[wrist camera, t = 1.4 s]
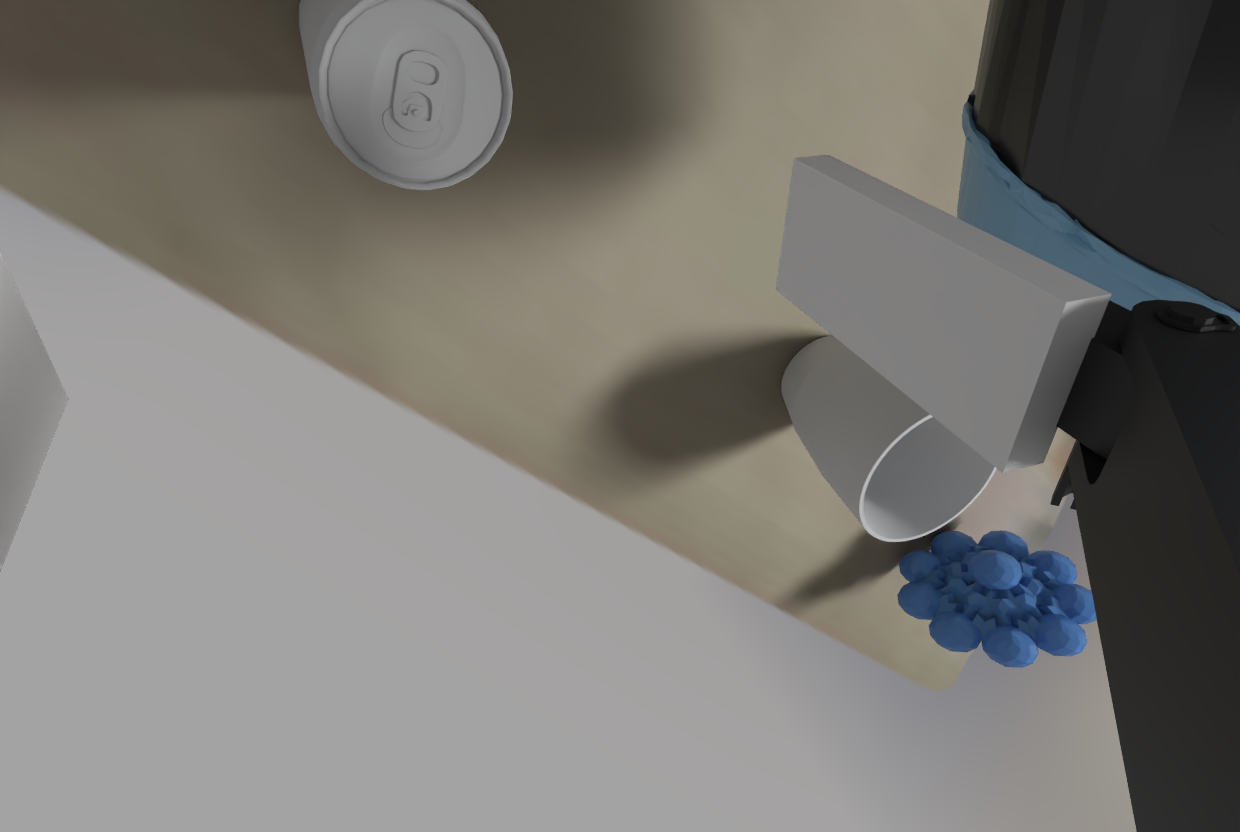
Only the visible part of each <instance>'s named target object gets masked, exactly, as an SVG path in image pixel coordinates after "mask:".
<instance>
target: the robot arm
mask: <svg viewBox="0 0 1240 832" xmlns="http://www.w3.org/2000/svg"><path fill="white" fill-rule="evenodd" d="M962 127H963V130H964V133H965V136H966V142H965V150H964V159H963V167H962V175H961V183H960V191H959V199H958V207H957V218H956V217H954V216H952V215H950V214H948V213H946V212H944V211H942V210H940V209H938V208H936V207H934V206H932V205H929V204H927V203H925V202H923V201H921V200H919V199H917V198H915V197H913V196H911V195H909V194H907V193H905V192H903V191H901V190H899V189H897V188H895V187H893V186H891V185H889V184H887V183H885V182H883V181H881V180H879V179H877V178H874V177H872V176H870V175H868V174H866V173H864V172H862V171H860V170H858V169H856V168H854V167H852V166H850V165H848V164H846V163H844V162H842V161H840V160H838V159H836V158H834V157H832V156H830V155H821V156H811V157H801V158H794V162H793V169H792V176H791V184H790V191H789V198H788V205H787V213H786V220H785V227H784V234H783V241H782V249H781V256H780V263H779V270H778V278H777V285H776V290H777V291H778V292H780V293H781V294H782V295H783V296H785V297H786V298H787V299H788V300H789V301H791V302H792V303H793V304H794V305H796V306H797V307H798V308H799V309H801V310H802V311H803V312H804V313H806V314H807V315H808V316H809V317H810V318H812V319H813V320H814V321H815V322H817V323H818V324H819V325H820V326H822V327H823V328H824V329H825V330H827V331H828V332H829V333H830V334H831V335H833V336H834V337H835V338H836V339H838V340H839V341H840V342H841V343H843V344H844V345H845V346H846V347H848V348H849V349H850V350H851V351H852V352H854V353H855V354H856V355H857V356H859V357H860V358H861V359H862V360H864V361H865V362H866V363H867V364H869V365H870V366H871V367H872V368H873V369H875V370H876V371H877V372H878V373H880V374H881V375H882V376H883V377H885V378H886V379H887V380H888V381H890V382H891V383H892V384H893V385H894V386H896V387H897V388H898V389H899V390H901V391H902V392H903V393H904V394H906V395H907V396H908V397H909V398H911V399H912V400H913V401H914V402H915V403H917V404H918V405H919V406H920V407H922V408H923V409H924V410H925V411H927V412H928V413H929V414H930V415H932V416H933V417H934V418H935V419H936V420H938V421H939V422H940V423H941V424H943V425H944V426H945V427H946V428H948V429H949V430H950V431H951V432H953V433H954V434H955V435H956V436H957V437H959V438H960V439H961V440H962V441H964V442H965V443H966V444H967V445H969V446H970V447H971V448H972V449H974V450H975V451H976V452H977V453H978V454H980V455H981V456H982V457H983V458H985V459H986V460H987V461H988V462H990V463H991V464H992V465H993V466H995V467H996V468H997V469H998V470H999V471H1001V472H1002V473H1006V472H1009V471H1013V470H1017V469H1021V468H1025V467H1029V466H1033V465H1036V464H1040V463H1044V460H1045V458H1046V455H1047V453H1048V450H1049V448H1050V445H1051V443H1052V440H1053V438H1054V435H1055V433H1056V430H1057V428H1058V427H1059V428H1060V429H1062V430H1063V431H1065V432H1066V433H1067V434H1069V435H1070V436H1072V437H1073V438H1075V439H1076V442H1075V444H1074V446H1073V449H1072V451H1071V453H1070V456H1069V458H1068V460H1067V463H1066V465H1065V468H1064V470H1063V472H1062V475H1061V477H1060V479H1059V482H1058V484H1057V486H1056V489H1055V491H1054V493H1053V496H1052V500H1051V504H1052V505H1056V506H1059V504H1060V502H1061V500H1062V497H1064V496H1066V495H1068V494H1070V493H1073V495H1074V501H1073V503H1072V505H1071V509H1075V510H1076V511H1077V516H1078V521H1079V527H1080V532H1081V537H1082V543H1083V548H1084V553H1085V559H1086V564H1087V570H1088V575H1089V580H1090V585H1091V591H1092V596H1093V601H1094V607H1095V612H1096V617H1097V622H1098V628H1099V633H1100V639H1101V644H1102V648H1103V655H1104V659H1105V665H1106V671H1107V676H1108V681H1109V687H1110V692H1111V697H1112V702H1113V708H1114V713H1115V718H1116V724H1117V729H1118V734H1119V740H1120V745H1121V750H1122V756H1123V761H1124V766H1125V771H1126V777H1127V782H1128V787H1129V793H1130V798H1131V804H1132V809H1133V814H1134V819H1135V825H1136V830H1137V832H1240V0H990V3H989V9H988V14H987V20H986V25H985V31H984V37H983V42H982V48H981V53H980V59H979V65H978V70H977V76H976V82H975V87H974V90H973V91H972V92H971V93H970V95H969V98H968V101H967V102H966V103H965V105H964V108H963V114H962ZM67 401H68V397H67V395H66V393H65V391H64V389H63V386H62V384H61V382H60V380H59V377H58V375H57V373H56V371H55V369H54V366H53V364H52V362H51V360H50V358H49V356H48V354H47V351H46V349H45V347H44V345H43V343H42V340H41V338H40V336H39V334H38V332H37V330H36V327H35V325H34V323H33V321H32V319H31V317H30V314H29V312H28V310H27V308H26V306H25V303H24V301H23V299H22V297H21V295H20V293H19V290H18V288H17V286H16V284H15V282H14V280H13V278H12V275H11V273H10V271H9V269H8V267H7V264H6V263H5V260H4V258H3V256H2V254H1V251H0V571H1V569H2V566H3V564H4V561H5V558H6V556H7V554H8V551H9V548H10V546H11V543H12V541H13V538H14V536H15V533H16V531H17V528H18V526H19V523H20V521H21V518H22V516H23V513H24V510H25V508H26V505H27V503H28V500H29V498H30V495H31V492H32V490H33V488H34V485H35V482H36V480H37V478H38V475H39V472H40V470H41V467H42V465H43V462H44V460H45V457H46V455H47V452H48V450H49V447H50V444H51V442H52V439H53V437H54V434H55V432H56V429H57V427H58V424H59V422H60V419H61V417H62V414H63V412H64V409H65V407H66V404H67Z"/></svg>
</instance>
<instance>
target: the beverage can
mask: <svg viewBox="0 0 1240 832" xmlns="http://www.w3.org/2000/svg"><path fill="white" fill-rule="evenodd" d="M299 29H300V34H301V40H302V45H303V51H304V56H305V62H306V67H307V72H308V78H309V83H310V89H311V93H312V96H313V100H314V103H315V107H316V110H317V114H318V117H319V119H320V121H321V122H322V124H323V126H324V128H325V129H326V131H327V133H328V135H329V136H330V138H331V140H332V142H333V143H334V144H335V145H336V146H337V147H338V148H339V149H340V150H341V152H342V153H343V154H344V155H345V156H346V157H347V158H348V159H349V160H350V161H351V162H352V163H353V164H355V165H356V166H357V167H359V168H361V169H362V170H364V171H365V172H367V173H368V174H370V175H371V176H373V177H375V178H376V179H378V180H379V181H382V182H385V183H388V184H391V185H394V186H397V187H400V188H403V189H414V190H432V189H438V188H444V187H449V186H452V185H454V184H456V183H458V182H460V181H462V180H465V179H467V178H469V177H471V176H472V175H473V174H475V173H476V172H477V171H478V170H479V169H480V168H482V167H483V166H484V165H485V164H486V163H488V162H489V160H490V159H491V158H492V156H493V155H494V153H495V152H496V150H497V149H498V147H499V146H500V145H501V143H502V141H503V138H504V136H505V133H506V130H507V128H508V125H509V122H510V120H511V110H512V101H513V90H512V83H511V75H510V69H509V66H508V62H507V59H506V57H505V54H504V51H503V49H502V46H501V44H500V41H499V39H498V36H497V35H496V34H495V32H494V31H493V29H492V28H491V26H490V25H489V24H488V22H487V21H486V19H485V18H484V16H483V15H482V14H481V13H480V12H479V11H478V10H477V9H476V8H475V7H474V6H472V5H471V4H470V3H469V2H468V1H467V0H301V1H300V4H299Z"/></svg>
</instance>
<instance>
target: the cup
mask: <svg viewBox="0 0 1240 832" xmlns="http://www.w3.org/2000/svg"><path fill="white" fill-rule="evenodd" d="M781 392H782V396H783V399H784V402H785V404H786V407H787V410H788V412H789V415H790V418H791V420H792V423H793V426H794V428H795V431H796V432H797V434H798V436H799V437H800V439H801V441H802V442H803V444H804V446H805V447H806V449H807V451H808V452H809V454H810V456H811V457H812V459H813V460H814V462H815V464H816V465H817V467H818V469H819V470H820V472H821V474H822V475H823V477H824V478H825V479H826V480H827V482H828V483H829V484H830V485H831V487H832V488H833V489H834V490H835V492H836V493H837V494H838V495H839V497H840V498H841V499H842V500H843V502H844V503H845V504H846V506H847V507H848V508H849V509H850V511H851V512H852V513H853V514H854V516H855V517H856V518H857V519H858V521H859V522H860V523H861V524H862V526H863V527H864V528H865V529H866V531H867V532H868V533H869V534H871V535H872V536H873V537H875V538H877V539H880V540H883V541H888V542H902V541H908V540H913V539H916V538H919V537H922V536H925V535H927V534H929V533H931V532H933V531H935V530H937V529H939V528H941V527H942V526H944V525H946V524H947V523H949V522H950V521H952V520H953V519H954V518H956V517H957V516H958V515H959V514H961V513H962V512H963V511H964V510H965V509H966V508H967V507H968V506H969V505H970V504H971V503H972V502H973V501H974V500H975V499H976V498H977V497H978V496H979V495H980V493H981V492H982V491H983V490H984V488H985V487H986V486H987V484H988V483H989V481H990V479H991V478H992V476H993V474H994V473H995V471H996V469H997V468H996V467H995V466H993V465H992V464H991V463H990V462H988V461H987V460H986V459H985V458H983V457H982V456H981V455H980V454H978V453H977V452H976V451H975V450H974V449H972V448H971V447H970V446H969V445H967V444H966V443H965V442H964V441H962V440H961V439H960V438H959V437H957V436H956V435H955V434H954V433H953V432H951V431H950V430H949V429H948V428H946V427H945V426H944V425H943V424H941V423H940V422H939V421H938V420H936V419H935V418H934V417H933V416H932V415H930V414H929V413H928V412H927V411H925V410H924V409H923V408H922V407H920V406H919V405H918V404H917V403H915V402H914V401H913V400H912V399H911V398H909V397H908V396H907V395H906V394H904V393H903V392H902V391H901V390H899V389H898V388H897V387H896V386H894V385H893V384H892V383H891V382H890V381H888V380H887V379H886V378H885V377H883V376H882V375H881V374H880V373H878V372H877V371H876V370H875V369H873V368H872V367H871V366H870V365H869V364H867V363H866V362H865V361H864V360H862V359H861V358H860V357H859V356H857V355H856V354H855V353H854V352H852V351H851V350H850V349H849V348H848V347H846V346H845V345H844V344H843V343H841V342H840V341H839V340H838V339H836V338H835V337H834V336H827V337H822V338H819V339H817V340H815V341H813V342H811V343H809V344H808V345H806V346H805V347H803V348H802V349H801V350H800V351H799V352H798V353H797V354H796V355H795V356H794V357H793V359H792V360H791V361H790V363H789V364H788V366H787V368H786V370H785V372H784V375H783V378H782V384H781Z"/></svg>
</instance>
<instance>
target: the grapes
mask: <svg viewBox="0 0 1240 832" xmlns="http://www.w3.org/2000/svg"><path fill="white" fill-rule="evenodd" d="M930 547H931V552H929V551H925V550H915V551H911V552H909V553H907V554H906V555H904V556H903V558H902V560H901V561H900V563H899V567H900V573H901V574H902V575H903V576H904V578H905V579H906V580H908V581H909V582H910V583H908V584H906V585H904V586H903V587H902V588H901V590H900V592H899V593H898V595H897V596H898V603H899V605H900V606H901V608H902V609H903V610H904V611H905V612H906V613H907V614H909V615H911V616H913V617H915V618H917V619H927V620H932V621H931V623H930V625H929V630H930V635H931V637H932V638H933V639H934V640H935V641H936V643H937V644H939V645H940V646H942V647H944V648H946V649H948V650H950V651H955V652H969V651H971V650H973V649H976V648H977V647H978V645H979V643H980V642H981V640H982V646H983V650H984V651H985V653H986V654H987V655H988V656H989V657H990V658H991V659H992V660H994V661H996V662H997V663H999V664H1001V665H1003V666H1005V667H1025V666H1028V665H1030V664H1032V663H1033V662H1034V660H1035V659H1036V657H1037V655H1038V648H1040V649H1042V650H1044V651H1046V652H1048V653H1050V654H1052V655H1054V656H1073V655H1075V654H1078V653H1080V652H1082V651H1083V649H1084V647H1085V646H1086V644H1087V639H1086V634H1085V631H1084V629H1083V628H1082V627H1081V626H1080V625H1079V624H1088V623H1090V622H1093V621H1095V620H1097V617H1096V612H1095V607H1094V601H1093V596H1092V591H1091V590H1089V589H1087V588H1084V587H1083V586H1080V585H1077V584H1073V582H1074V581H1075V579H1076V578H1077V571H1076V566H1075V565H1074V563H1072V561H1071V560H1070V559H1069V558H1068V557H1066V556H1064V555H1062V554H1060V553H1057V552H1054V551H1036V552H1034V553H1032V554H1030V555H1029V551H1028V546H1027V544H1026V543H1025V542H1024V540H1023V539H1022V538H1021V537H1019V536H1017V535H1015V534H1013V533H1011V532H1007V531H991V532H989V533H987V534H985V535H983V537H982V539H981V540H980V542H979V544H977V543H976V542H975V541H974V540H973V539H972V537H970V536H968V535H966V534H964V533H961V532H958V531H944V532H942V533H940V534H938V535H936V536H935V537H934V539H933V541H932V542H931V544H930ZM1037 647H1038V648H1037Z"/></svg>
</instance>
